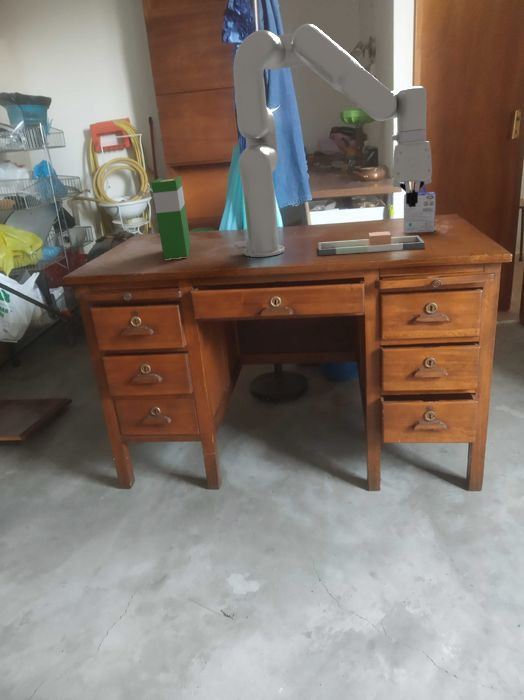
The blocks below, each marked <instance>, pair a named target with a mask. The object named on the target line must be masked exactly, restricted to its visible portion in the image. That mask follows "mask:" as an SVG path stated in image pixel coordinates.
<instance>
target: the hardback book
mask: <svg viewBox="0 0 524 700" xmlns="http://www.w3.org/2000/svg"><path fill="white" fill-rule="evenodd" d="M150 185H151V191H152V195H153V201H154V208H155V213H156V219H157V225H158V230H159V231H158V232H159V237H160V242H161V244H160V245H161V248H162V249H161V251H162V254H163V255H162V256H163V260H164V259H169V258H179V257H187V256H188V257H189V255H188V253H189V254H190V252H189V249H190V246H191V247H192V244H191V237H190V230H189V223H188V217H187V209H186V203H185V197H184V196H185V195H184V189H183V182H182V176H181V175H178V176H177V177H174V178H171V179H170V178H169V179H168V178H167V179H162V177H159V178H156V179H155V180H154V181H152V182H151V183H150ZM190 250H191V249H190Z"/></svg>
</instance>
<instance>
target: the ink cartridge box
mask: <svg viewBox="0 0 524 700" xmlns="http://www.w3.org/2000/svg"><path fill="white" fill-rule="evenodd" d="M426 185H427V184H426ZM426 185H423V186H422V187H421V189H420V190H419V191H418V203H416V207H413V206H412V207H409V206H408V204H406V193H405V194H404V196H403V233H405V234H406V233H409V234H410V233H431V232H435V227H436V226H435V225H436V208H437V207H436V206H437V203H436V202H437V201H436V199H437V197H436V196H437V194H436V192H435V191H430V192H427V188H426V187H427V186H426Z"/></svg>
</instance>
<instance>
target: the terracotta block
mask: <svg viewBox="0 0 524 700" xmlns="http://www.w3.org/2000/svg"><path fill="white" fill-rule="evenodd" d="M391 237H392V234H391V232H390V231H376V232H375V231H374V232H368V239H369V246H372V245H386V244H391Z"/></svg>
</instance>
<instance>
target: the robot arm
mask: <svg viewBox="0 0 524 700" xmlns="http://www.w3.org/2000/svg"><path fill="white" fill-rule="evenodd" d="M233 59H234V60H233V67H232V68H233V72H232V73H233V82H234V85H233V86H234V95H235V109H236V121H237V129H238V132H239V133H240V134H241V136H242V137H244V139H245V140H246V141H245V143H246V148H245V149H243V150H242V152H241V154H240V156H239V160H238V172H239V177H240V183H241V186H242V194H243V204H244V213H245V214H244V215H245V223H246V234H247V239H246V240H244V241H235V242H234V248H235V249H245V250H244V251H243V252H244V253H243V254H244V255H245V256H246V257H249V256H250V258H265V257H271V256H272V257H273V256H276V255H280V254H282V253H284V252H285V247H284V246H283V245H280V242H279V241H280V239H279V228H278V227H279V226H278V216H277V204H276V203H277V202H276V191H275V185H274V178H273V172H274V171H275V170H276V168H277V166H278V164H279V162H278V160H279V154H278V153H279V152H278V141H277V139H278V138H277V126H276V119H275V117H274V114H273V112H272V111H271V110H270V108H268V107H267V106H268V105H267V99H266V87H265V86H266V85H265V84H266V83H265V78H264V77H265V76H264V72H265V71H264V70H265V69H266V70H270V71H271V70H272V71H273V70H274V71H275V70H282V69H288V68H294V67H301V66H307V67H308V68H310V70H312V71H313V72H314V73H315V74H317V75H318V76H319V77H320V78H321V79H323V80H324V81H325V82H326V83H327V84H328V85H330V87H332V88H333V89H334V90H335V91H338V92H339V93H342V94H343V95H344V96H345V97H347V99H349V100H350V101H351V102H352V103H354V104H355V105H357V107H358V108H359V109H360V110H362V111H363V112H365V113H366V114H367V115H368V116H369V117H370V118H371V119H373V120H375V121H378V122H385V121H388V120H392V119H396V120H397V121H396V122H397V123H396V125H397V126H396V127H397V130H396V131H397V132H396V134H392V135H391V140H392V141H395V142H396V143H397V144H395V145H394V150H393V159H392V161H393V162H392V179H393V180H392V184H391V185H392V187H394V188H401V189H402V190H403V191H404V192H405V194H406V204H408V206H409V207H412V206H413V207H416V203H418V191H419V190H422V188H421V187H422V186H423V185H428V184H431V183H432V182H433V180H432V174H433V165H432V163H433V162H432V161H433V160H432V149H431V143H430V141H429V140H428V141H427V89H426V88H425V87H424V86H421V85H420V86H419V85H418V86H411V87H406V88H401V89H400V90H390V89H389V88H388V87H387V86H385V85H384V84H383V83H382V82H380V81H379V80H378V79H377V78H376V77H375V76H374V75H372V74H371V73H370V72H369V71H367V70H366V69H365V68H364V67H363V66H362V65H361V64H360V63H359V62H358V61H357V60H356V59H355V58H354V57H353V56H352V55H350V54H349V53H348V52H347V51H346V50H345V49H343V48H342V47H341V46H340V45H339V44H338V43H336V42H335V41H334V40H332V38H330V36H328V35H327V34H326V33H324V32H323V30H321V29H320V28H318V27H317V26H316V25H314V24H311V23H305V24H302V25H300V26H298V28H296V30H295V31H294V32H291V33H285V34H278V35H276V34H274V33H273V32H271V31H269V30H266V29H260V30H256V31H254V32H252V33H250V34H249V35H248V36H246V37H245V38H244V39H243V40H242V41H241V43H240V44H239V46H238V48H237V49H236V51H235V55H234V58H233ZM411 182H413V188H412V190H411V185H410V183H411Z"/></svg>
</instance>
